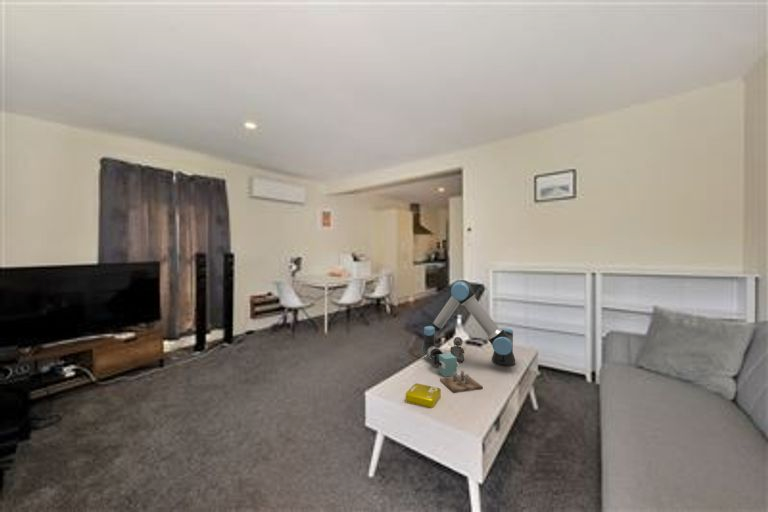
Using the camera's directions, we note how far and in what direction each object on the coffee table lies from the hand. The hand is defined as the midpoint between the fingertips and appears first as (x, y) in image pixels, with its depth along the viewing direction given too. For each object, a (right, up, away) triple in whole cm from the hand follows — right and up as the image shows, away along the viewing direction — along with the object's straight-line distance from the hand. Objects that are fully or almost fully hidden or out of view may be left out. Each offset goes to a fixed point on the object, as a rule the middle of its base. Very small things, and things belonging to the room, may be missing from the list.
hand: (451, 365), depth 191 cm
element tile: (-20, -8, -27) cm, 35 cm away
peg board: (+3, -7, -11) cm, 13 cm away
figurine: (+11, -6, +29) cm, 31 cm away
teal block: (-1, -6, +5) cm, 8 cm away
